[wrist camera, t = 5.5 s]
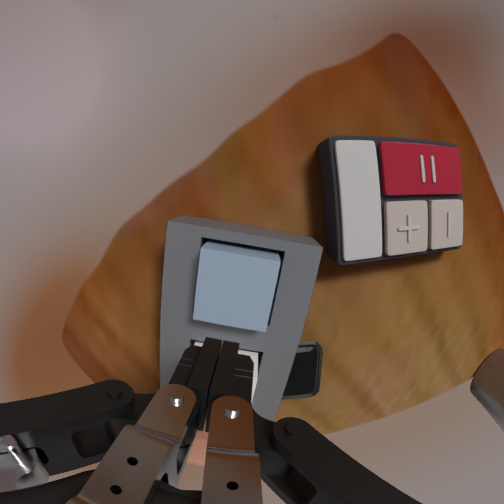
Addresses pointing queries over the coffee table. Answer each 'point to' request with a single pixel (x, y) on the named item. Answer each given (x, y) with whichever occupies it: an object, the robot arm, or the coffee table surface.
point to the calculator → (390, 197)
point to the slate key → (236, 284)
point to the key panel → (264, 343)
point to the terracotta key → (199, 448)
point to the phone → (305, 371)
